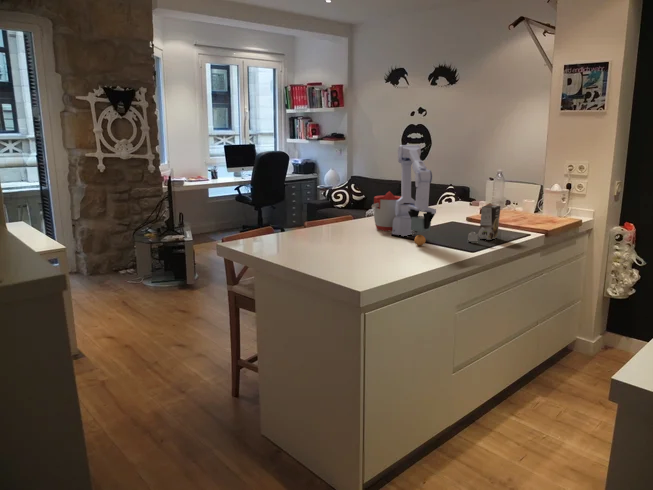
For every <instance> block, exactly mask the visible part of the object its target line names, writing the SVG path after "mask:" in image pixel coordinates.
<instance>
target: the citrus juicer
mask: <svg viewBox="0 0 653 490" xmlns="http://www.w3.org/2000/svg"><path fill="white" fill-rule="evenodd" d="M400 198H401V195H400V196H399V195H394V194H393V193H392V192H391V191H390V190H389V191H388V192H386V193H385V195H376V196H374V197H373V204H371V209H373V219H374V220H373V221H374V225H375V228H376V229H377V230H379V231H380V230H381V231H384V232H389V231H390V232H392V230H393V220H394V218H395V217H396V215H395V205H396V201H397V200H398V199H400ZM401 204H405V203H401Z"/></svg>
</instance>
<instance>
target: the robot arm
mask: <svg viewBox="0 0 653 490" xmlns="http://www.w3.org/2000/svg"><path fill="white" fill-rule="evenodd" d="M421 153H422V150H421V145H419V144H415V145H414V144H408V145H407V144H400V145H399V146H398V149H397V162H398V163H399V164H400V166H401V167H400V168H401V173H400V174H401V175H400V176H401V179H400V180H401V181H400V184H401V185H400V186H401V187H400V188H401V191H400V192H401V193H400V194H401V195H400V197H401V198H400V199H398V200H397V201H396V205H395V215H396V217H395V218H394V220H393V230H392V231H391V235H396V236H399V235H401V236H400V237H404V236H407V235H410V234H412V233H413V230H411V217H415V216H419V213H420V212H422V213H423V214H422V216H424V228H425V229H428V228H429V225H430V222H431V223H432V221H433V218H434V216H435V215H436V214H437V209H436V208H432V207H429V200H430V199H429V198H430V185H431V183H432V181H433V172H432V170H431V169H427V165H426V163H425V162H424V161H423V160H422V159H421ZM412 170H413V173H414V181H415V182H414V183H415V188H416V189H415V190H416V192H415V199H414V198H413V197H412ZM401 203H404V204H401ZM407 237H408V236H407Z"/></svg>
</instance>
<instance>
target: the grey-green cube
mask: <svg viewBox="0 0 653 490" xmlns="http://www.w3.org/2000/svg"><path fill="white" fill-rule="evenodd" d="M431 225H432V221H431V222H430V225H429V228H428V229H425V228H424V215H418V216H415V217H411V230H412V232H413V231H414V232H418V233H425V232H430V231H431Z"/></svg>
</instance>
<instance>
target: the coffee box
mask: <svg viewBox="0 0 653 490" xmlns="http://www.w3.org/2000/svg"><path fill="white" fill-rule="evenodd" d="M500 213H501V206H500V205H494V204H493V205H491V204H487V205H484V206H481V213H480V224H479V230H480V229H481V228H482V227H483V228H484V229H485V230H484V231H483V233H482V234H481V236H478V238H479V237H480V238H487V239H493V238H495V237H497V236H499V235H498V234H499V224H500V217H501V215H500Z"/></svg>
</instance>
